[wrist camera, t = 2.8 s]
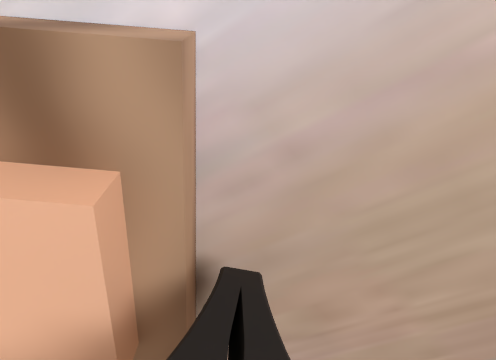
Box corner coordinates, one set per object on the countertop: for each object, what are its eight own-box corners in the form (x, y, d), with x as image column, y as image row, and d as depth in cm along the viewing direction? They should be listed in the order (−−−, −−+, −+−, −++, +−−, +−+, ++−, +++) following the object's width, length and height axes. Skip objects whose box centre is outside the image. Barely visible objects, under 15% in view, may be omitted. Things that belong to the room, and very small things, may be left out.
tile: (-5, 330, 16) (-40, 374, 14) (-70, 155, 12) (-130, 186, 10) (138, 343, 15) (121, 390, 14) (120, 171, 12) (92, 206, 10)
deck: (2, 347, 19) (-25, 384, 18) (-125, 5, 12) (-196, 11, 10) (195, 365, 19) (187, 404, 17) (195, 31, 11) (181, 41, 10)
